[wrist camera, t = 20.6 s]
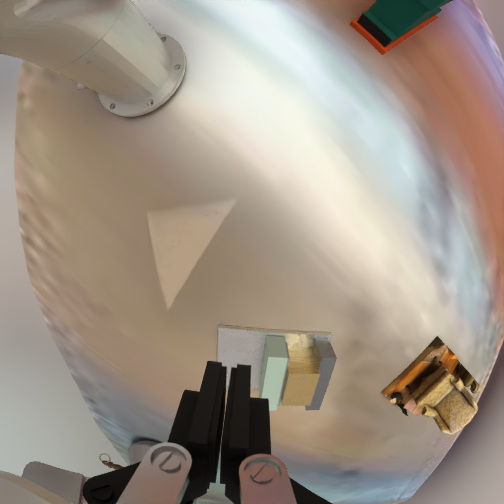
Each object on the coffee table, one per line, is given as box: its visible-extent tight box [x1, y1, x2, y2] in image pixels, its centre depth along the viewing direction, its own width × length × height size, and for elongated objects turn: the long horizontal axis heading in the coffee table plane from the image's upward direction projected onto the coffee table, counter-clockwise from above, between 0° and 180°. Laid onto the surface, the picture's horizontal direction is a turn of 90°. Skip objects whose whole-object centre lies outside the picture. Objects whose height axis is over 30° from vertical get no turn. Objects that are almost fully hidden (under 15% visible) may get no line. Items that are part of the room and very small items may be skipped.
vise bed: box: [217, 325, 336, 410], centre depth 35 cm, size 16×11×6 cm
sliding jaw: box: [259, 336, 290, 411], centre depth 35 cm, size 3×10×5 cm, turn 175°
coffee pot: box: [99, 440, 160, 470], centre depth 38 cm, size 21×12×15 cm, turn 7°
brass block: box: [281, 348, 320, 406], centre depth 35 cm, size 4×6×6 cm, turn 175°
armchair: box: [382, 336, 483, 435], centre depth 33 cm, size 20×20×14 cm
